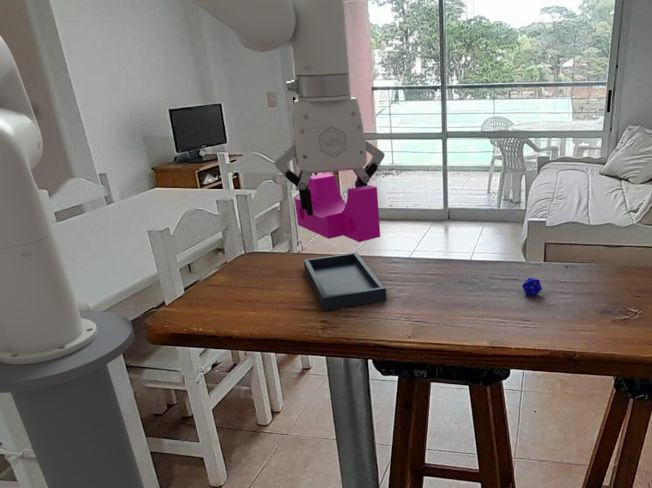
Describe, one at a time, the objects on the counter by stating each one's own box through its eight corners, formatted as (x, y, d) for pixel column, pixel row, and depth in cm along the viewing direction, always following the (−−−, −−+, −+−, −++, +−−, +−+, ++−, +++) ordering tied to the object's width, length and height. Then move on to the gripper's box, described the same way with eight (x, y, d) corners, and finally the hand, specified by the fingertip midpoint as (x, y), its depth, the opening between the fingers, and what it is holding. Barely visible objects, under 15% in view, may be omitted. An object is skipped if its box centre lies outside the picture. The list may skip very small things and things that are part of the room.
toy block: (297, 225, 94) (291, 179, 91) (331, 217, 97) (326, 173, 94) (344, 245, 83) (339, 194, 80) (380, 236, 86) (376, 187, 83)
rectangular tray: (324, 310, 85) (322, 298, 84) (304, 270, 101) (303, 259, 100) (386, 300, 87) (385, 288, 86) (357, 262, 103) (357, 252, 102)
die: (523, 299, 86) (517, 280, 87) (530, 299, 89) (524, 281, 89) (539, 293, 85) (533, 274, 86) (546, 293, 87) (540, 275, 88)
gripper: (263, 93, 76) (281, 223, 83) (390, 86, 81) (396, 209, 88) (258, 90, 82) (275, 211, 89) (375, 84, 87) (382, 199, 94)
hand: (335, 209), depth 89 cm, fingers closed on toy block, 7 cm apart
